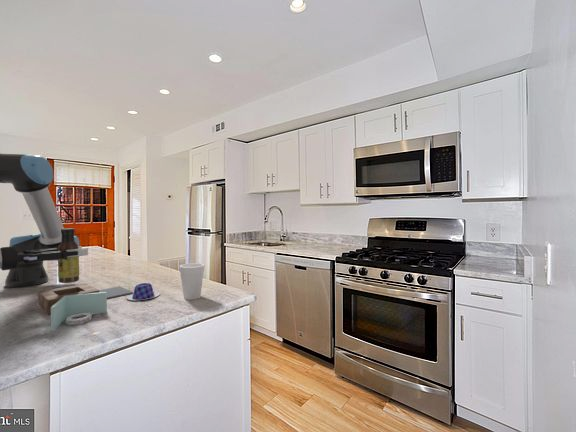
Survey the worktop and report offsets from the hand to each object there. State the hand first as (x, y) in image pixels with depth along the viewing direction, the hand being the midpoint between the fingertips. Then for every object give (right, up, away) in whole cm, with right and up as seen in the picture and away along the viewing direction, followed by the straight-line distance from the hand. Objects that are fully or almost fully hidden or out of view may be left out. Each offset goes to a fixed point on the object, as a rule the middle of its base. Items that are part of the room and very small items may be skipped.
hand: (84, 250), depth 110 cm
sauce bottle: (-3, -11, -4) cm, 12 cm away
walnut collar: (-3, -20, -3) cm, 20 cm away
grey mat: (+4, -19, +10) cm, 22 cm away
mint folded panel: (+12, -21, -18) cm, 30 cm away
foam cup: (+40, -20, +6) cm, 45 cm away
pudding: (+20, -20, +6) cm, 29 cm away
